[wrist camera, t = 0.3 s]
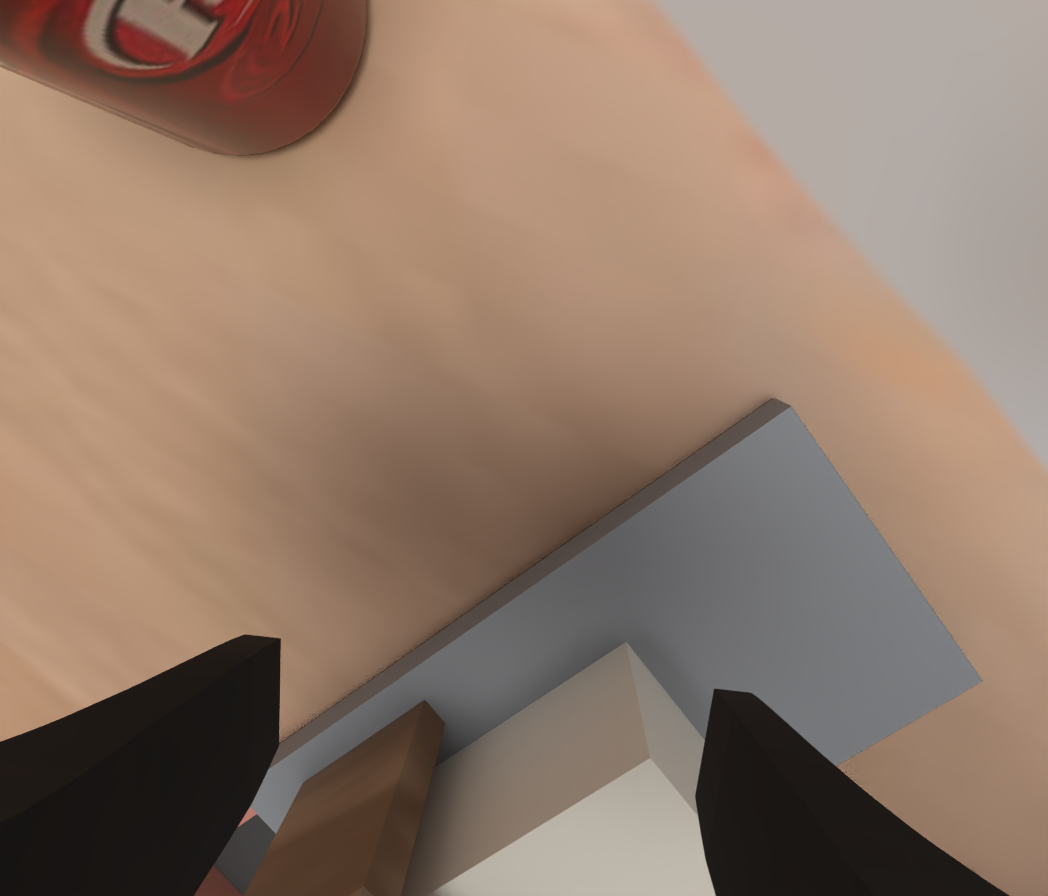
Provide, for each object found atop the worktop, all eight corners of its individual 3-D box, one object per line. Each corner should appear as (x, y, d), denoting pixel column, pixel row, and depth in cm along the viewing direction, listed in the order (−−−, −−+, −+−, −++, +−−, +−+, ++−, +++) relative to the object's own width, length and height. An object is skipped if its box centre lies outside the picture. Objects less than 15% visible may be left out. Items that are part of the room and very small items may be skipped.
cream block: (704, 740, 20) (752, 883, 15) (423, 911, 22) (385, 1089, 17) (626, 641, 19) (650, 757, 14) (344, 826, 21) (280, 985, 16)
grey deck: (952, 653, 20) (982, 681, 19) (308, 1034, 25) (293, 1080, 24) (773, 397, 19) (791, 406, 17) (125, 852, 24) (96, 888, 22)
